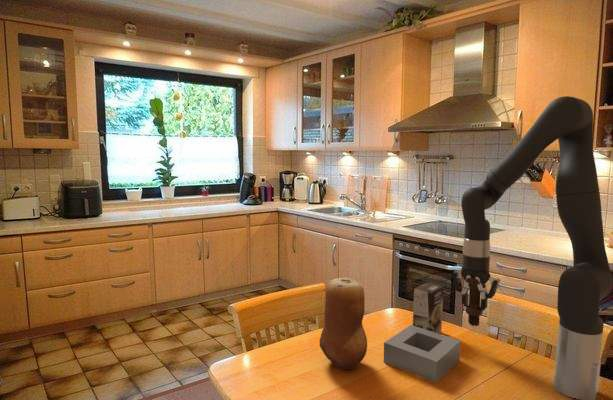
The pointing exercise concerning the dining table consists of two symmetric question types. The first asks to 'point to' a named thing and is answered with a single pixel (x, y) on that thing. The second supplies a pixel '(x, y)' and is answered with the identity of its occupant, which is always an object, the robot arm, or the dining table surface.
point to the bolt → (474, 301)
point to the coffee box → (428, 307)
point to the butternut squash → (344, 323)
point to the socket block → (422, 352)
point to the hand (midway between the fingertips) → (474, 307)
